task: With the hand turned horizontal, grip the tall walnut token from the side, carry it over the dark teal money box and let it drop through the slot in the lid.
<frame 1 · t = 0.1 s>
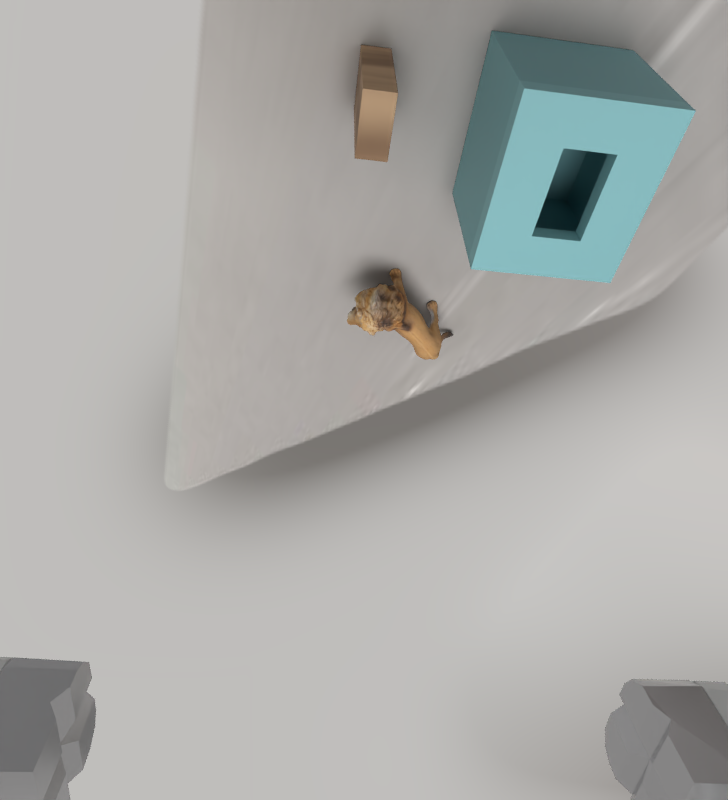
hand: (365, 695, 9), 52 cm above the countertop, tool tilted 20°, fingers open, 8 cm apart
money box: (535, 127, 54), on the countertop
walnut token: (372, 79, 51), on the countertop
lion figurine: (401, 297, 68), on the countertop
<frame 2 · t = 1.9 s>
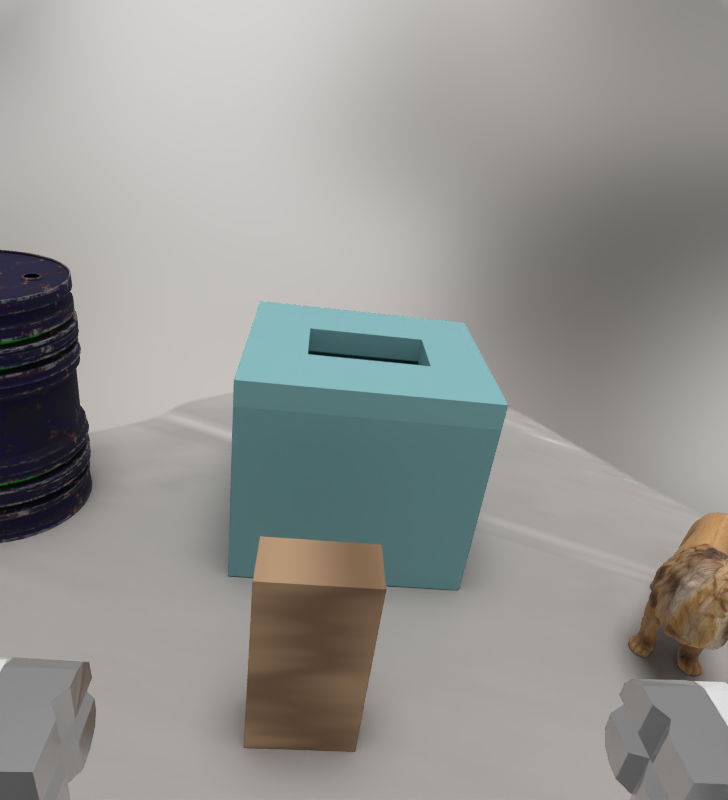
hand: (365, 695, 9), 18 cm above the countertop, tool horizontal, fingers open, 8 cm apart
money box: (344, 519, 42), on the countertop
storage jar: (12, 496, 40), on the countertop
walnut token: (301, 723, 28), on the countertop
lion figurine: (680, 636, 37), on the countertop
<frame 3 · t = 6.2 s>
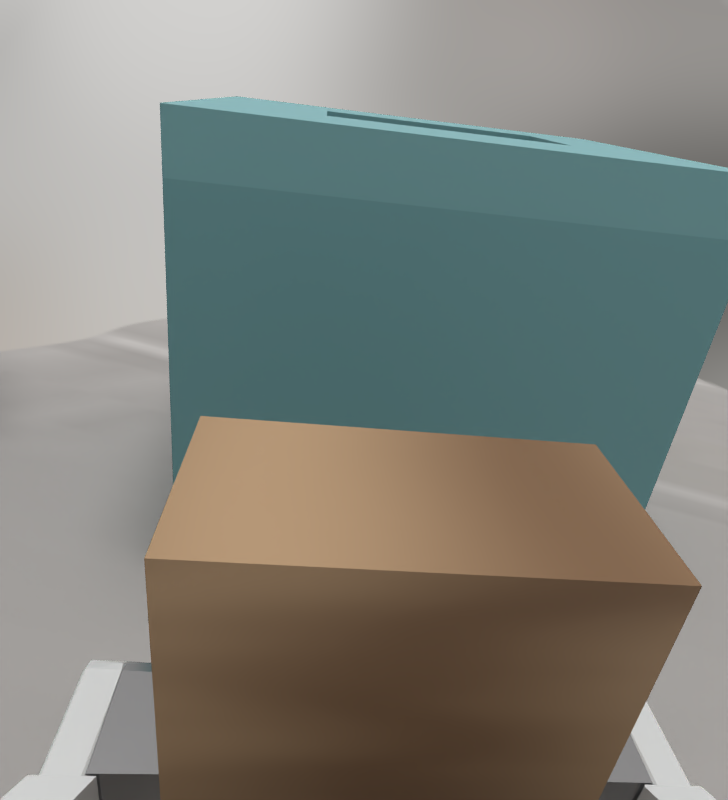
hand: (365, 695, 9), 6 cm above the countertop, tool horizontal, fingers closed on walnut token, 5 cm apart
money box: (385, 475, 25), on the countertop
when the fingers open (19 cm above the countertop, at t = 11.3 s): walnut token drops 12 cm, resting on money box.
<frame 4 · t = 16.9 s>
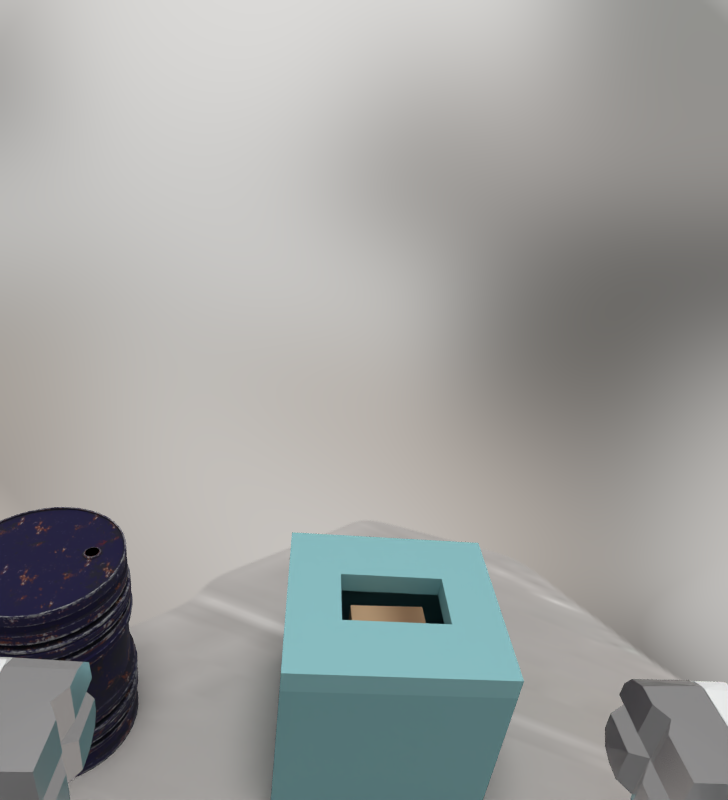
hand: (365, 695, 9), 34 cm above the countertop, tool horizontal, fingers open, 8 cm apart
money box: (370, 725, 46), on the countertop
storage jar: (67, 717, 44), on the countertop
walnut token: (370, 717, 45), point 1 cm above the countertop, touching money box
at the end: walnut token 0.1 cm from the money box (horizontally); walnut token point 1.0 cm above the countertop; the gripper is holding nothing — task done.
